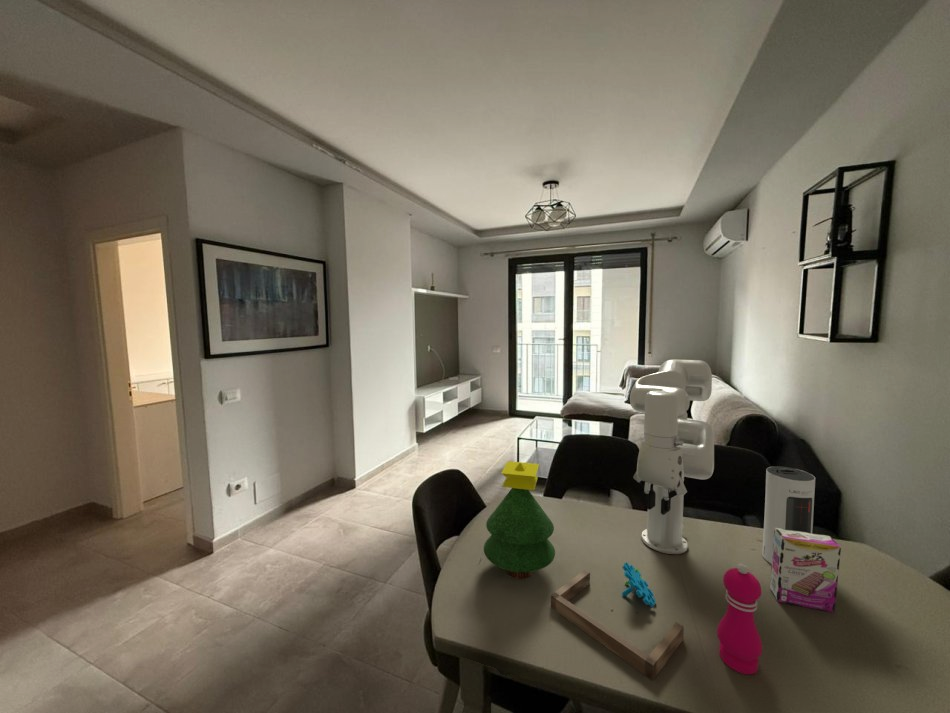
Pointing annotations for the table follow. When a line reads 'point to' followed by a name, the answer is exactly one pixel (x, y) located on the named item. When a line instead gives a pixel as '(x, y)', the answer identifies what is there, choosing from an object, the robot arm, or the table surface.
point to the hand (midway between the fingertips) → (657, 509)
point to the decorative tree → (519, 526)
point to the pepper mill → (740, 621)
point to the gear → (637, 585)
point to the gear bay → (610, 639)
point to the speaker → (787, 504)
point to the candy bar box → (805, 569)
